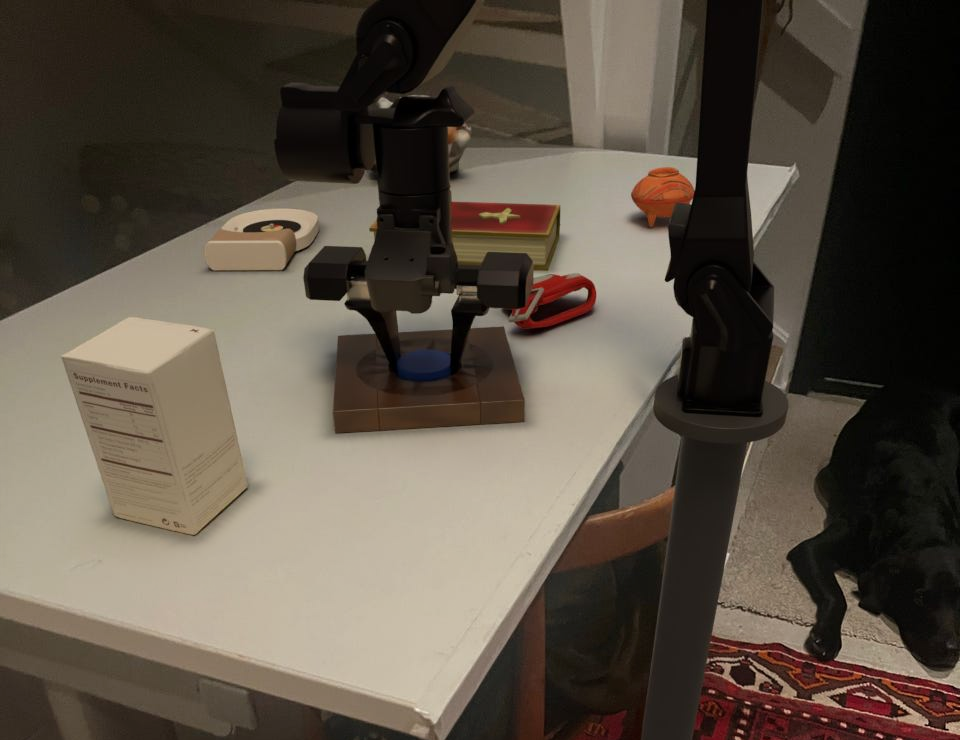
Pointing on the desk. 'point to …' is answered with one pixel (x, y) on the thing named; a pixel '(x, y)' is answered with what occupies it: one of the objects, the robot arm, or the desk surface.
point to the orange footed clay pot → (661, 192)
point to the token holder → (426, 384)
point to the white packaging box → (159, 422)
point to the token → (424, 366)
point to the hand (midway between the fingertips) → (425, 373)
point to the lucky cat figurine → (456, 137)
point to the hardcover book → (503, 231)
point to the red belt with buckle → (549, 291)
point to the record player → (261, 239)
